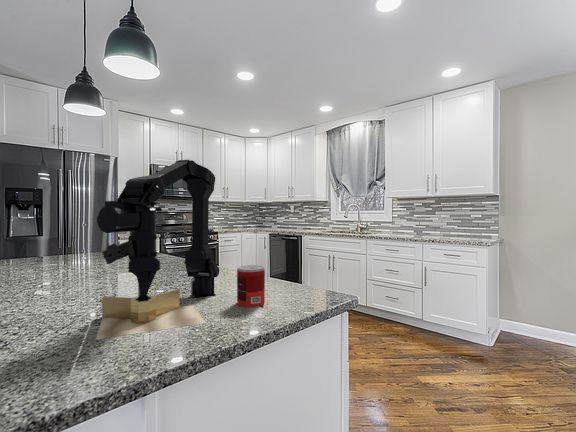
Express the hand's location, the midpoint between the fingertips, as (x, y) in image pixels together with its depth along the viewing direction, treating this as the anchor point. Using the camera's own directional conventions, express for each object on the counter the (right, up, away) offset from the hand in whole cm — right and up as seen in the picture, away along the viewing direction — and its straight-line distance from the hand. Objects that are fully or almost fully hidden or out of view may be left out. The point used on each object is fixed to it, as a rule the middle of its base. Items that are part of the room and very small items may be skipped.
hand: (143, 295), depth 76 cm
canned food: (+24, -7, +14) cm, 29 cm away
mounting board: (+2, -7, 0) cm, 7 cm away
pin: (0, -2, 0) cm, 2 cm away
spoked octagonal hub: (-1, -6, +2) cm, 6 cm away
